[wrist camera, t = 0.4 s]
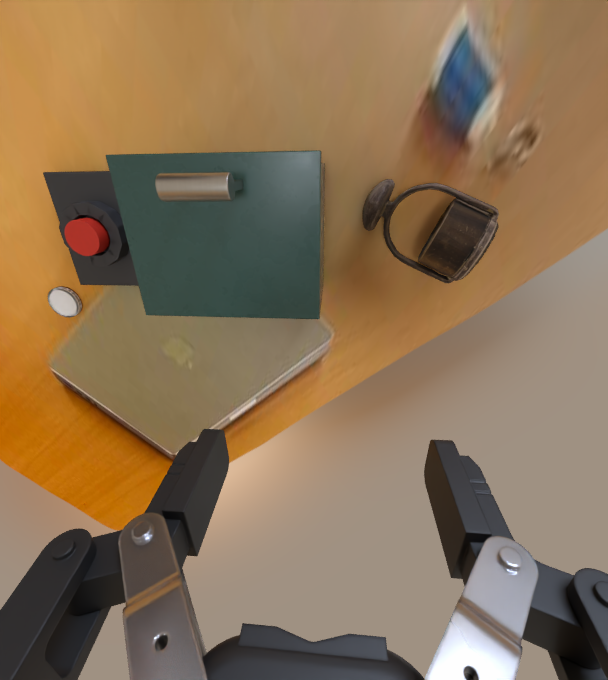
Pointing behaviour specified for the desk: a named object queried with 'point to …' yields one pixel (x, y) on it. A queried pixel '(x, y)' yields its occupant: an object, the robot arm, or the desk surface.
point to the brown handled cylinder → (440, 230)
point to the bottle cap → (64, 302)
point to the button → (87, 236)
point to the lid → (223, 231)
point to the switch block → (100, 204)
